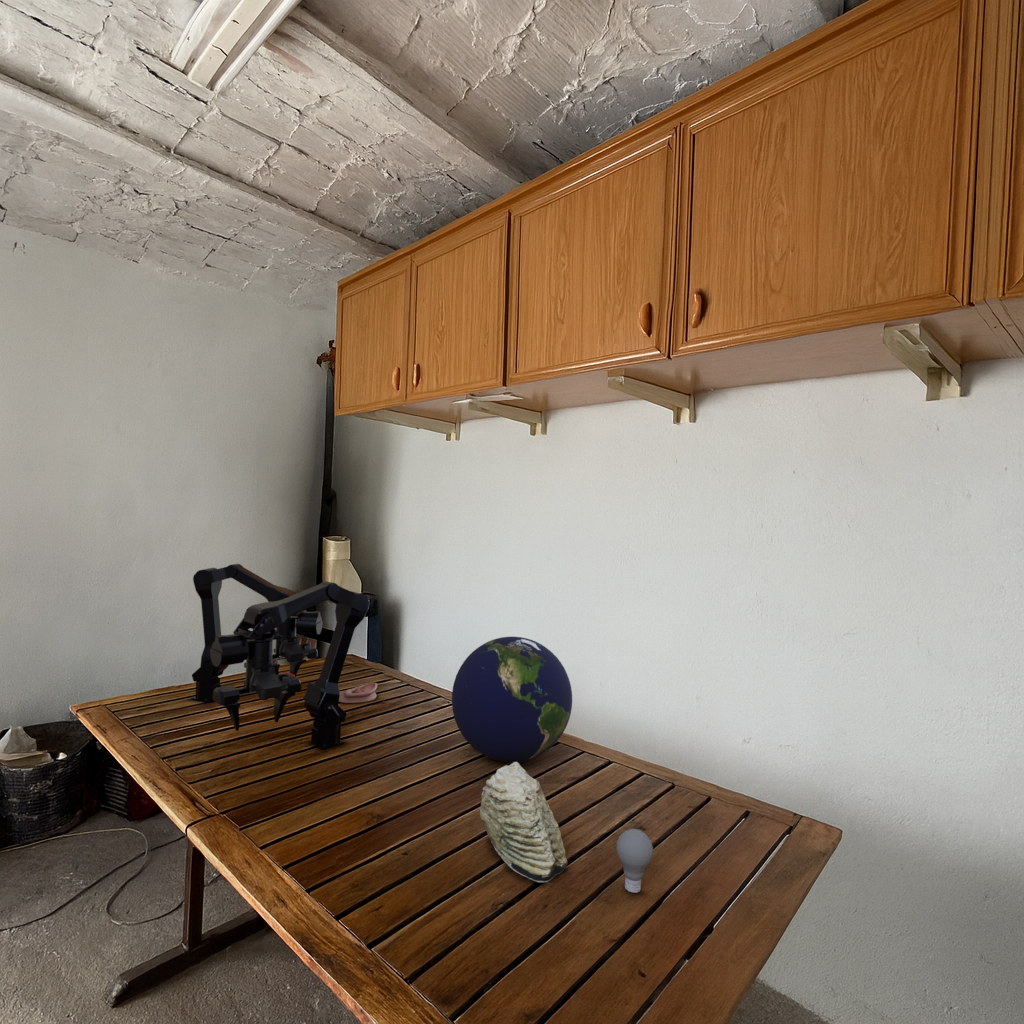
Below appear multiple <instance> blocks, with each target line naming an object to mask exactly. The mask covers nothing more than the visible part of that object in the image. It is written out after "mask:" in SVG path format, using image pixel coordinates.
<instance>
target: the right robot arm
mask: <svg viewBox="0 0 1024 1024" xmlns="http://www.w3.org/2000/svg"><path fill="white" fill-rule="evenodd" d="M296 593H297V594H295V595H292V596H290V597H287V598H285V599H282V600H279V601H273V602H268V601H265V602H261V603H256V604H252V605H250V606H249V607H247V608H246V610H245V613H244V614H243V618H242V619H241V620H240V622H239V624H238V625H237V626H236V628H235V629H234V630H233V631H232V634H221V635H217V636H216V637H215V642H214V643H213V645H212V648H211V649H210V656H211V661H212V663H213V665H214V666H215V667H220V666H226V665H229V666H232V665H238V664H243V668H245V679H243V684H242V685H244V686H245V687H239V688H237V687H236V686H233V685H232V684H229V685H228V684H227V685H221V687H216V688H215V690H214V691H213V700H212V701H214V702H215V703H217V704H218V705H219V706H223V707H224V708H225V709H226V711H227V712H228V715H229V718H230V720H231V722H232V725H233V727H234V730H235V731H236V732H239V730H240V707H241V705H242V704H241V703H240V702H239V701H240V699H241V697H246V696H247V697H248V696H251V695H257V696H258V698H259V700H261V701H268V700H270V699H273V718H274V722H275V723H278V722H279V721H280V718H281V716H282V714H283V710H284V708H285V706H286V704H287V702H288V700H289V699H290V698H292V697H294V696H296V694H297V693H299V692H301V691H302V682H301V680H300V679H299V678H297V677H294V676H292V675H289V674H288V673H286V674H279V675H276V673H275V667H274V666H275V665H273V664H272V657H273V654H274V641H276V639H281V638H282V636H281V635H280V634H279V633H278V632H277V631H276V628H277V627H278V626H280V625H281V624H283V623H284V621H285V620H286V619H287V618H289V617H290V616H292V615H294V614H297V613H299V612H301V611H303V610H306V611H307V610H308V609H310V608H313V607H315V606H317V605H319V604H322V603H324V602H326V601H329V602H331V603H333V604H335V610H334V613H335V622H336V623H335V628H334V630H333V633H332V636H331V640H330V643H329V646H328V650H327V652H326V655H325V658H324V662H323V664H322V668H321V671H320V675H319V677H318V679H317V680H315V682H313V683H311V682H309V683H308V684H307V687H306V692H305V694H304V696H303V700H304V701H303V702H304V703H303V707H304V708H305V711H307V712H308V713H309V716H310V718H313V721H312V722H313V723H312V727H311V730H310V731H311V732H310V733H311V735H310V739H309V740H308V743H309V744H310V745H313V746H314V747H316V748H318V749H320V750H327V749H329V748H333V747H336V746H340V745H343V744H344V743H345V741H344V740H343V739H341V737H342V735H341V733H342V723H343V722H346V721H345V720H346V717H347V715H348V714H347V712H346V711H345V710H344V709H343V708H342V707H340V706H339V703H340V702H339V697H340V688H339V682H340V678H341V675H342V671H343V669H344V665H345V662H346V659H347V656H348V653H349V649H350V646H351V642H352V640H353V637H354V633H355V630H356V628H357V626H359V625H360V624H361V622H363V620H364V619H365V617H366V615H367V613H368V610H369V608H370V600H369V598H368V596H367V595H366V594H364V593H360V592H356V591H352V590H348V589H346V588H344V587H342V586H340V585H338V584H337V583H336V582H331V581H326V580H325V581H322V582H320V583H319V584H317V585H314V586H312V587H310V588H307V589H304V590H301V591H299V592H296ZM250 629H251V630H250Z"/></svg>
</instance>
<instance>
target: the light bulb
mask: <svg viewBox="0 0 1024 1024" xmlns="http://www.w3.org/2000/svg"><path fill="white" fill-rule="evenodd" d="M615 849H616V854H617V857H618V859H619V861H620V863H621V865H622V867H623V873H624V874H623V875H624V876H625V878H624V888H625V890H627V891H628V892H630V893H634V894H635V893H639V892H640V891H641V889H642V887H641V886H642V879H643V877H644V875H645V871H646V868H647V867H648V866H649V864H650V863H651V861H652V859H653V855H654V847H653V843H652V841H651V838H649V836H648V835H647V834H646V833H645V832H643V831H642V830H641V829H636V828H629V829H627V830H625V831H623V832H622V833H621V834H620V835H619V837H618V839H617V841H616V847H615Z"/></svg>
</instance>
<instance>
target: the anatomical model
mask: <svg viewBox="0 0 1024 1024" xmlns="http://www.w3.org/2000/svg"><path fill="white" fill-rule="evenodd" d="M377 688H378V683H377V682H370V683H366V684H363V685H359V686H356V687H353V688H349V689H346V690H343V691H339V693H340V697H339V703H342V704H344V703H345V704H355V703H357V704H358V703H366V702H370V701H374V700H375V699H376V698H377V696H378V695H377V693H376V691H377Z"/></svg>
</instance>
